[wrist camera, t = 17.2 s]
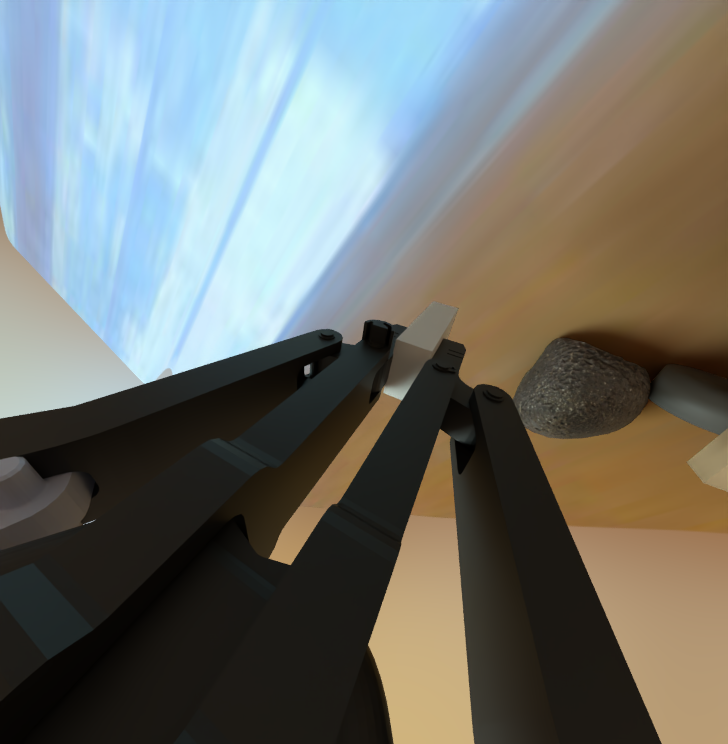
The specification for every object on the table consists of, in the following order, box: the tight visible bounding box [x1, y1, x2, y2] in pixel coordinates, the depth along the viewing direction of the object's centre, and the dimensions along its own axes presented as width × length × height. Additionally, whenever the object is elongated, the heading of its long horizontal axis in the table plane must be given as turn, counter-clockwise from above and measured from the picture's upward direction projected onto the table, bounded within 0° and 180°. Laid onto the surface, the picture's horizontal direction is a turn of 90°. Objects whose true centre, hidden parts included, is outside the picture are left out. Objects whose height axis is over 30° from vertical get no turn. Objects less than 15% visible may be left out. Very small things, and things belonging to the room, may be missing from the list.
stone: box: [513, 338, 650, 439], centre depth 24 cm, size 10×8×10 cm
